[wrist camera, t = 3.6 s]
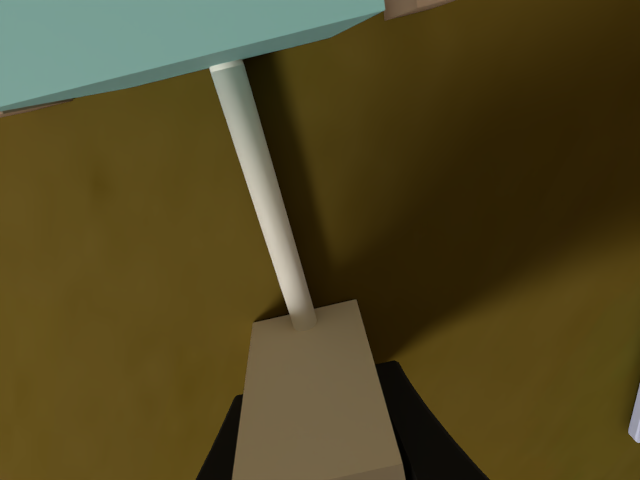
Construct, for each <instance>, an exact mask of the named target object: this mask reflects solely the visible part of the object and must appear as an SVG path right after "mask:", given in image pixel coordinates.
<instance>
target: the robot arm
mask: <svg viewBox="0 0 640 480" xmlns="http://www.w3.org/2000/svg"><path fill="white" fill-rule="evenodd" d="M375 367H376V371H377V375H378V378H379V382H380V385H381V389H382V392H383V396H384V399H385V403H386V406H387V410H388V414H389V417H390V421H391V424H392V428H393V431H394V435H395V438H396V442H397V446H398V449H399V453H400V456H401V460H402V463H403V468H404V473H405V479H406V480H490V479H489V478H488V477H487V476H486V475H485V474H484V473H483V472H482V471H481V470H480V469H479V468H478V467H477V466H476V464H475V463H474V462H473V461H472V460H471V459H470V458H469V457H468V455H467V454H466V453H465V452H464V451H463V450H462V449H461V448H460V446H459V445H458V444H457V443H456V442H455V441H454V439H453V438H452V437H451V436H450V435H449V433H448V432H447V431H446V430H445V428H444V427H443V426H442V425H441V423H440V422H439V421H438V420H437V418H436V417H435V416H434V415H433V413H432V412H431V411H430V410H429V408H428V407H427V406H426V404H425V403H424V402H423V400H422V399H421V397H420V396H419V394H418V393H417V392H416V390H415V389H414V387H413V386H412V384H411V383H410V381H409V380H408V378H407V376H406V375H405V373H404V371H403V370H402V368H401V366H400V364H399V363H398V362H397V361H395V360H394V361H390V362H385V363H381V364H376V365H375ZM242 401H243V394H242V395H237V396H236V397H235V398H234V400H233V402H232V404H231V406H230V409H229V411H228V413H227V415H226V418H225V420H224V422H223V424H222V427H221V429H220V431H219V433H218V435H217V437H216V439H215V442H214V444H213V446H212V448H211V450H210V452H209V454H208V456H207V458H206V460H205V462H204V464H203V466H202V468H201V470H200V472H199V474H198V476H197V478H196V480H232V475H233V468H234V461H235V453H236V446H237V438H238V431H239V423H240V416H241V408H242ZM628 432H629V434H630V435H631V437H632V438H633V439H634V440H635V441H636V442H638V443H640V385H639V389H638V393H637V397H636V401H635V405H634V409H633V413H632V417H631V422H630V426H629V430H628Z"/></svg>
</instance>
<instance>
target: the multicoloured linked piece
mask: <svg viewBox="0 0 640 480" xmlns="http://www.w3.org/2000/svg"><path fill="white" fill-rule="evenodd" d="M384 10H385V4H384V0H0V111H6V110H11V109H17V108H22V107H27V106H33V105H38V104H44V103H49V102H55V101H60V100H66V99H71V98H76V97H82V96H87V95H93V94H98V93H104V92H109V91H115V90H120V89H126V88H131V87H135V86H139V85H143V84H147V83H151V82H155V81H159V80H163V79H167V78H171V77H175V76H179V75H183V74H187V73H191V72H195V71H199V70H203V69H207V68H210V72H211V75H212V78H213V81H214V84H215V87H216V91H217V94H218V97H219V100H220V103H221V106H222V109H223V112H224V115H225V118H226V121H227V124H228V127H229V130H230V133H231V137H232V140H233V143H234V146H235V149H236V152H237V155H238V158H239V161H240V164H241V167H242V170H243V173H244V176H245V179H246V182H247V186H248V189H249V192H250V195H251V198H252V201H253V204H254V207H255V210H256V213H257V216H258V219H259V222H260V225H261V228H262V232H263V235H264V238H265V241H266V244H267V247H268V250H269V253H270V256H271V259H272V262H273V265H274V268H275V271H276V274H277V277H278V281H279V284H280V287H281V290H282V293H283V296H284V299H285V302H286V305H287V308H288V311H289V315H285V316H281V317H276V318H272V319H267V320H263V321H259V322H254V323H253V327H252V334H251V342H250V349H249V356H248V364H247V371H246V379H245V386H244V394H243V401H242V408H241V416H240V423H239V431H238V438H237V446H236V453H235V461H234V468H233V475H232V480H406V479H405V473H404V468H403V463H402V460H401V456H400V453H399V449H398V446H397V442H396V438H395V435H394V431H393V428H392V424H391V421H390V417H389V414H388V410H387V406H386V403H385V399H384V396H383V392H382V389H381V385H380V382H379V378H378V375H377V371H376V367H375V364H374V360H373V357H372V353H371V350H370V346H369V343H368V339H367V335H366V332H365V328H364V325H363V321H362V318H361V314H360V311H359V307H358V303H357V300H356V299H355V300H351V301H346V302H342V303H337V304H333V305H329V306H324V307H320V308H316V309H314V308H313V304H312V301H311V297H310V294H309V290H308V287H307V283H306V280H305V276H304V273H303V269H302V266H301V262H300V259H299V255H298V252H297V248H296V245H295V241H294V238H293V234H292V231H291V227H290V224H289V220H288V217H287V213H286V210H285V206H284V203H283V199H282V196H281V192H280V189H279V185H278V182H277V178H276V175H275V171H274V168H273V164H272V161H271V157H270V154H269V150H268V147H267V143H266V140H265V136H264V133H263V129H262V126H261V122H260V119H259V115H258V112H257V108H256V105H255V101H254V98H253V94H252V91H251V87H250V84H249V80H248V77H247V73H246V70H245V66H244V63H243V61H242V60H243V59H247V58H251V57H255V56H259V55H263V54H267V53H271V52H275V51H279V50H283V49H287V48H291V47H295V46H299V45H303V44H307V43H311V42H315V41H319V40H323V39H327V38H331V37H333V36H335V35H337V34H339V33H341V32H343V31H345V30H347V29H349V28H351V27H353V26H354V25H356V24H358V23H360V22H362V21H364V20H366V19H368V18H370V17H372V16H374V15H376V14H378V13H380V12H382V11H384Z"/></svg>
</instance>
